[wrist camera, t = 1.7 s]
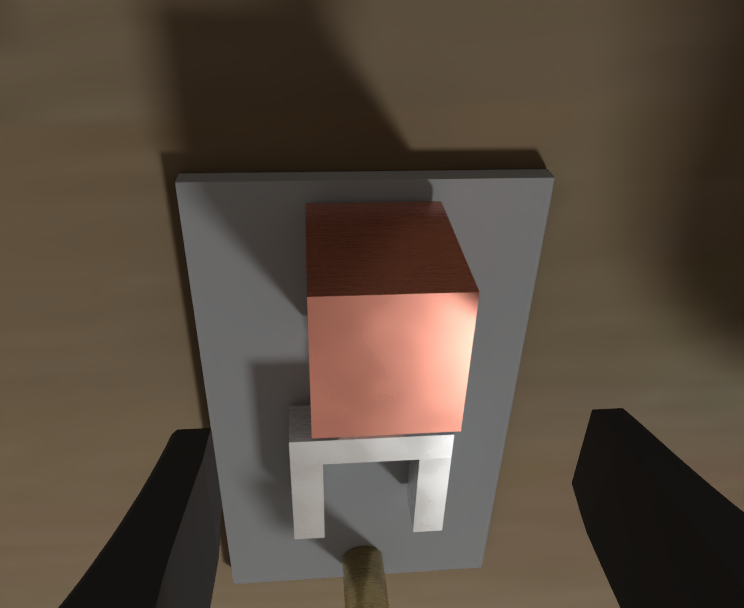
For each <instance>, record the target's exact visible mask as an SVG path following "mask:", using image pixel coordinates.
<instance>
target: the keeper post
mask: <svg viewBox="0 0 744 608" xmlns="http://www.w3.org/2000/svg"><path fill="white" fill-rule="evenodd" d="M342 566H343V582H344V598H345V608H389V604H388V596H387V588H386V580H385V572H384V564H383V555H382V553H381V551H380V550H379V549H377V548H376V547H373V546H368V545H362V546H356V547H353V548H351V549H349V550H348V551H346V552H345V553H344V555H343V557H342Z"/></svg>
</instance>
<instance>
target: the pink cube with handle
mask: <svg viewBox="0 0 744 608" xmlns="http://www.w3.org/2000/svg"><path fill="white" fill-rule="evenodd" d="M305 224H306V270H307V309H308V339H309V369H310V399H311V405H305V406H289V453H290V470H291V487H292V503H293V520H294V537H295V539H310V538H325V533H324V485H323V464H342V463H361V462H381V461H400V460H409V472H408V484H407V500H408V506H409V512H410V518H411V523H412V529H413V532H424V531H440V530H442V526H443V519H444V511H445V503H446V495H447V488H448V480H449V472H450V464H451V456H452V449H453V441H454V432H457V431H461V426H462V419H463V411H464V404H465V396H466V389H467V382H468V374H469V367H470V359H471V352H472V345H473V337H474V330H475V323H476V315H477V308H478V300H479V293H480V292H479V289H478V287H477V285H476V282H475V280H474V278H473V275H472V273H471V270H470V268H469V266H468V263H467V261H466V259H465V256H464V254H463V252H462V249H461V247H460V244H459V242H458V240H457V237H456V235H455V233H454V230H453V228H452V225H451V223H450V221H449V218H448V216H447V214H446V211H445V209H444V207H443V204H442V202H441V201H428V202H365V203H305Z"/></svg>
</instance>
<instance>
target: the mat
mask: <svg viewBox="0 0 744 608" xmlns="http://www.w3.org/2000/svg"><path fill="white" fill-rule="evenodd" d="M553 184H554V176H553V175H552V174H551V173H550V171H549V170H548V169H518V170H431V171H345V172H259V173H178V176H177V179H176V181H175V186H176V193H177V199H178V206H179V213H180V220H181V227H182V234H183V240H184V247H185V254H186V261H187V268H188V275H189V281H190V288H191V295H192V302H193V309H194V316H195V322H196V329H197V336H198V343H199V350H200V357H201V363H202V370H203V377H204V384H205V391H206V398H207V404H208V411H209V418H210V425H211V431H212V438H213V444H214V451H215V458H216V465H217V472H218V478H219V485H220V492H221V499H222V507H223V514H224V521H225V527H226V534H227V541H228V548H229V555H230V562H231V568H232V575H233V582H234V584H240V583H255V582H270V581H285V580H300V579H315V578H330V577H343V566H342V557H343V555H344V553H345V552H346V551H348V550H349V549H351V548H353V547H356V546H362V545H368V546H373V547H376V548H377V549H379V550H380V551H381V553H382V555H383V564H384V572H385V574H389V573H404V572H419V571H434V570H449V569H464V568H479V567H482V562H483V557H484V551H485V546H486V541H487V535H488V530H489V525H490V519H491V514H492V509H493V503H494V498H495V493H496V487H497V482H498V477H499V471H500V466H501V461H502V455H503V450H504V445H505V439H506V434H507V429H508V423H509V418H510V413H511V407H512V402H513V397H514V391H515V386H516V381H517V375H518V370H519V365H520V360H521V354H522V349H523V344H524V338H525V333H526V328H527V322H528V317H529V312H530V306H531V301H532V296H533V290H534V285H535V280H536V274H537V269H538V264H539V258H540V253H541V248H542V242H543V237H544V232H545V226H546V221H547V216H548V210H549V205H550V200H551V194H552V189H553ZM428 201H441V202H442V204H443V207H444V209H445V211H446V214H447V216H448V218H449V221H450V223H451V225H452V228H453V230H454V233H455V235H456V237H457V240H458V242H459V244H460V247H461V249H462V252H463V254H464V256H465V259H466V261H467V263H468V266H469V268H470V270H471V273H472V275H473V278H474V280H475V282H476V285H477V287H478V289H479V292H480V293H479V300H478V308H477V315H476V323H475V330H474V337H473V345H472V352H471V359H470V367H469V374H468V382H467V389H466V396H465V404H464V411H463V419H462V426H461V431H457V432H454V441H453V449H452V456H451V464H450V472H449V480H448V488H447V495H446V503H445V511H444V519H443V526H442V530H440V531H424V532H413V529H412V523H411V518H410V512H409V506H408V500H407V484H408V472H409V460H400V461H381V462H361V463H342V464H323V485H324V533H325V538H310V539H295V537H294V520H293V503H292V487H291V470H290V453H289V406H305V405H311V399H310V369H309V339H308V309H307V270H306V224H305V203H365V202H428Z"/></svg>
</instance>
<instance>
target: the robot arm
mask: <svg viewBox="0 0 744 608" xmlns="http://www.w3.org/2000/svg"><path fill="white" fill-rule="evenodd" d="M572 486H573V489H574V492H575V496H576V499H577V503H578V506H579V510H580V513H581V516H582V519H583V522H584V525H585V528H586V531H587V534H588V536H589V539H590V541H591V543H592V546H593V548H594V550H595V552H596V555H597V557H598V559H599V561H600V564H601V566H602V568H603V570H604V573H605V575H606V577H607V579H608V581H609V584H610V586H611V588H612V590H613V592H614V595H615V597H616V599H617V601H618V603H619V606H620V608H744V512H743V511H742V510H740V509H739V508H738V507H736V506H735V505H734V504H733V503H732V502H730V501H729V500H728V499H727V498H725V497H724V496H723V495H722V494H720V493H719V492H718V491H717V490H716V489H715V488H713V487H712V486H711V485H710V484H709V483H707V482H706V481H705V480H704V479H703V478H702V477H700V476H699V475H698V474H697V473H696V472H695V471H693V470H692V469H691V468H690V467H689V466H688V465H687V464H685V463H684V462H683V461H682V460H681V459H680V458H679V457H677V456H676V455H675V454H674V453H673V452H672V451H671V450H670V449H668V448H667V447H666V446H665V445H664V444H663V443H662V442H661V441H659V440H658V439H657V438H656V437H655V436H654V435H653V434H652V433H651V432H649V431H648V430H647V429H646V428H645V427H644V426H643V425H642V424H640V423H639V422H638V421H637V420H636V419H635V418H634V417H632V416H631V415H630V414H629V413H628V412H627V411H625V410H624V409H623V408H617V409H596V410H592V412H591V416H590V419H589V423H588V427H587V430H586V434H585V437H584V441H583V445H582V448H581V452H580V455H579V459H578V462H577V466H576V470H575V473H574V477H573V480H572ZM221 515H222V499H221V492H220V485H219V478H218V472H217V465H216V458H215V451H214V444H213V438H212V431H211V428H202V429H182V430H176V431H175V432H174V433H173V434H172V435H171V437H170V439H169V441H168V443H167V445H166V447H165V449H164V451H163V453H162V455H161V456H160V458H159V460H158V462H157V464H156V466H155V467H154V469H153V471H152V473H151V475H150V476H149V478H148V480H147V481H146V483H145V485H144V486H143V488H142V490H141V492H140V493H139V495H138V496H137V498H136V500H135V501H134V503H133V504H132V506H131V507H130V509H129V511H128V512H127V514H126V515H125V517H124V518H123V520H122V522H121V523H120V525H119V526H118V528H117V529H116V531H115V532H114V534H113V535H112V537H111V538H110V539H109V541H108V542H107V544H106V545H105V546H104V548H103V549H102V551H101V552H100V553H99V555H98V556H97V558H96V559H95V561H94V562H93V563H92V565H91V566H90V568H89V569H88V570H87V572H86V573H85V574H84V576H83V577H82V578H81V580H80V581H79V582H78V584H77V585H76V586H75V587H74V589H73V590H72V591H71V593H70V594H69V595H68V596H67V598H66V599H65V600H64V601H63V603H62V604H61V605H60V606H59V608H210V605H211V599H212V594H213V588H214V582H215V576H216V570H217V564H218V559H219V546H220V532H221Z"/></svg>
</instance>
